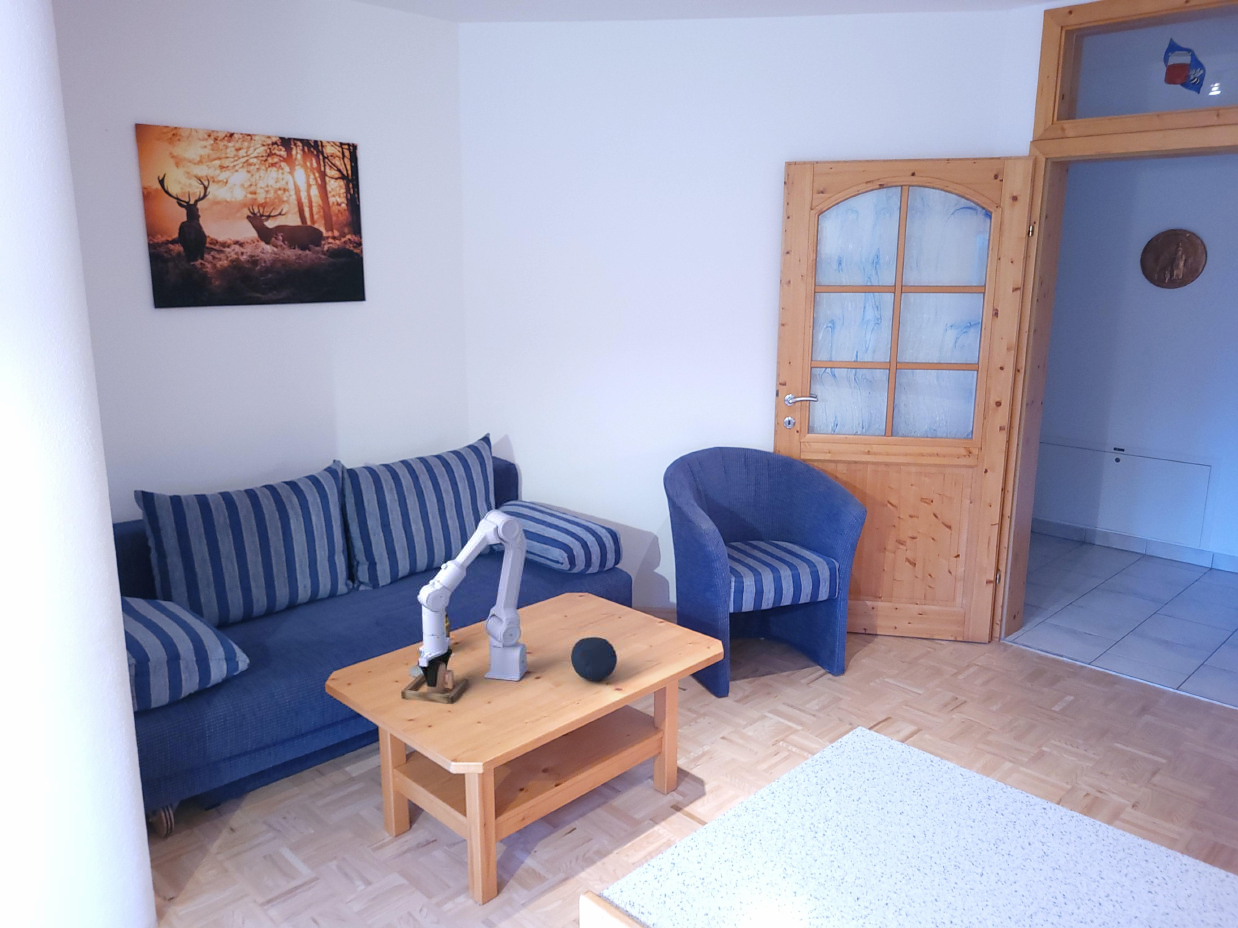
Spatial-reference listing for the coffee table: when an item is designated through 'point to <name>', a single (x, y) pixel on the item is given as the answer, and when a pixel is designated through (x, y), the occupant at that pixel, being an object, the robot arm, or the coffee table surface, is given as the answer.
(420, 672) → the coaster
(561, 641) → the coffee table surface
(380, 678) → the coffee table surface
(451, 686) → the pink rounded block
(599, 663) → the decorative stone
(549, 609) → the coffee table surface
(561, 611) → the coffee table surface
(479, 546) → the robot arm
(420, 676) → the holder
